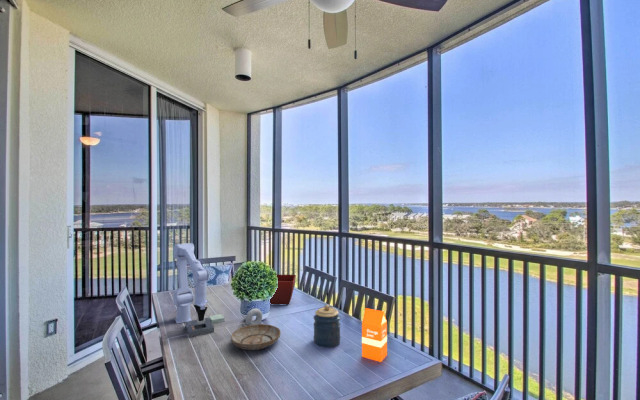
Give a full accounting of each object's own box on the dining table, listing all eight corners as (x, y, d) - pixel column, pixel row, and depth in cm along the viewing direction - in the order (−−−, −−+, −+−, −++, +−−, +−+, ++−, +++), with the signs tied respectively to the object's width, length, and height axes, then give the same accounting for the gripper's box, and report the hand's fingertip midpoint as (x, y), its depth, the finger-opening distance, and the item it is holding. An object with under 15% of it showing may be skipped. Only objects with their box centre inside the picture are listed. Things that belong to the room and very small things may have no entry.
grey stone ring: (247, 330, 157) (247, 311, 157) (244, 328, 159) (244, 310, 160) (263, 325, 164) (263, 307, 164) (260, 323, 166) (260, 305, 167)
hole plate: (185, 326, 163) (185, 321, 163) (208, 322, 169) (208, 317, 169) (189, 337, 149) (189, 332, 149) (214, 332, 155) (214, 327, 155)
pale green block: (209, 319, 172) (209, 316, 172) (221, 317, 176) (221, 314, 176) (211, 323, 166) (211, 320, 166) (224, 321, 170) (224, 317, 170)
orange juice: (381, 362, 125) (380, 314, 125) (361, 356, 130) (361, 310, 130) (387, 354, 132) (387, 308, 132) (368, 349, 136) (368, 305, 137)
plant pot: (293, 307, 194) (293, 281, 195) (263, 307, 195) (264, 281, 195) (295, 298, 213) (295, 274, 214) (269, 298, 214) (269, 274, 214)
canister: (309, 345, 140) (309, 307, 141) (319, 334, 152) (319, 299, 153) (335, 350, 136) (335, 311, 136) (343, 338, 148) (343, 302, 148)
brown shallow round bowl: (288, 336, 150) (288, 326, 150) (265, 359, 128) (265, 347, 128) (248, 330, 158) (248, 321, 158) (220, 350, 135) (220, 339, 136)
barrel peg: (196, 321, 157) (196, 308, 157) (203, 320, 159) (204, 306, 160) (197, 324, 154) (197, 310, 154) (205, 322, 156) (206, 308, 156)
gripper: (211, 295, 153) (211, 322, 152) (206, 289, 165) (206, 313, 165) (196, 297, 149) (196, 325, 149) (192, 290, 162) (192, 316, 161)
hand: (200, 319), depth 157 cm, fingers closed on barrel peg, 4 cm apart
